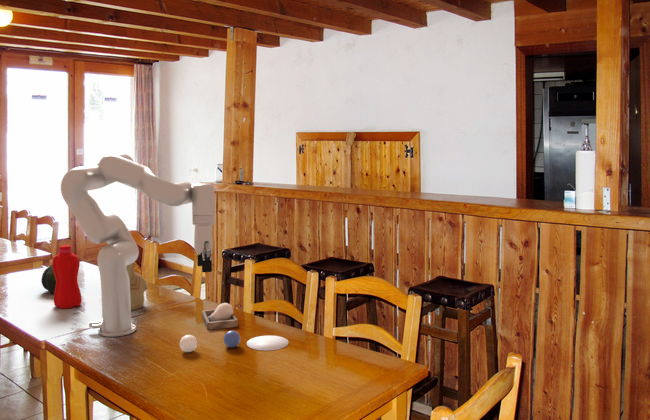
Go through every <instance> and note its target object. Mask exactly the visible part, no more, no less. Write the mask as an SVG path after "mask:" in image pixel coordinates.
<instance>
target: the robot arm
mask: <svg viewBox="0 0 650 420" xmlns="http://www.w3.org/2000/svg"><path fill="white" fill-rule="evenodd" d="M115 182H117V183H119V184H123V185H125V186H127V187H130V188H133V189H135V190H138V191H139V192H140V193H142V195H143V194H144V195H145V196H146V197H148V198H150V199H152V200H154V201H157V202H160V203H161V204H164V205H167V206H170V207H179V206H182V205H183V206H184V205H186V204H191V210H192V211H191V213H192V215H191V216H192V218H191V220H192V225H193V226H194V235H193V236H194V237H193V239H194V243H193V245H194V248H193V250H194V251H195V252H196V255H197V257H196V258H197V259H196V261H197V262H196V263H197V264H196V265H197V267H201V272H202V273H211V272H213V261H212V253H213V247H214V246H213V241H214V240H213V225H215V224H216V211H215V210H216V209H215V208H216V206H215V205H216V204H215V203H216V201H215V199H216V198H215V185H214V184H212V183H208V182H201V183H195V182H194V183H193V182H189V181H188V182H187V181H181V182H175V183H174V182H171V181H168V180H166V179H163V178H160V177H158V176H156V175H155V174H154V173H153V172H152V170H151V168H150V167H149V166H147V165H145V164H141V163H139V162H137V161H134V159H133V158H132V156H129V155H128V154H126V153H121V152H120V153H108V154H106V155H104V156H102V158H101V159H100V160H99V162H98V163H95V164H93V165H83V166H82V165H81V166H77V167H74V168H71V169H69V170H68V171H67V172H66V173H64V175H63V178H62V180H61V182H60V193H61V195H62V196H61V197H62V199H63V200H64V202H65V203H66V205H67V206H68V208H69V210H70V211H71V212H72V214H73V216H74V218H75V220H76V221H77V223H78V224H79V226H80V228H81V230H82V231H83V233H84V234H85V236H86V237H87V239H88V241H89V242H91V243H92V244H97V245H98V244H102V243H106V244H107V245H105V246H103V247H102V248H101V249H100V250H99V252H98V255H97V261H96V263H97V266H98V271H99V278H100V291H101V293H100V294H101V310H102V311H101V312H102V313H101V314H102V317H101V319H100V320H98V321H89V322H88V325H89V326H88V327H89V328H92V329H94V330H95V329H98V331H97V332H98V334H99V335H100V336H103V337H106V338H107V337H108V338H109V337H113V338H116V337H122V336H127V335H130V334H133V333H134V332H135V331H136V330H137V325H135V324H134V323H132V310H131V302H130V281H129V275H128V272H127V268H126V266H128V265H130V264H132V263H133V262H134V263H135V262H136V261H137V260H138V257H139V253H140V251H139V246H138V244H137V242H136V241H135V239H134V237H133V236H132V234H131V232H130V231H129V229H128V227H127V225H126V224H125V222H124V221H123V220H122V219H121V218H120V217H119V216H118V215H116V214H114V213H104V212H103V211H102V210H101V208H100V206H99V204H98V203H97V201H96V200H95V199H94V198H93V197H92V196H91V195H90V194H89V193H88V191H93V190H98V189H101V188H104V187H106V186H108V185H110V184H113V183H115Z"/></svg>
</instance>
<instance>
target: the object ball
mask: <svg viewBox="0 0 650 420" xmlns="http://www.w3.org/2000/svg"><path fill="white" fill-rule="evenodd" d="M240 343H241V336H240V334H239V332H238V331H235V330H229V331H226V333H225V334H224V336H223V344H224V345H225V346H226V347H228V348H236V347H237V346H238V345H239V344H240Z"/></svg>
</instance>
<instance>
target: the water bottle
mask: <svg viewBox="0 0 650 420" xmlns="http://www.w3.org/2000/svg"><path fill="white" fill-rule="evenodd" d="M58 249H59V250H58V251H59V253H57V254H56V255H55V256H54V257H53V258H52V263H51V265H52V268H53V271H54V274H55V277H56V287H55V292H54V294H53V304H54V306H55V307H56V308H60V309H63V310H64V309H66V310H67V309H70V308H75V307H79V306H80V305H81V304H82V293H81V289H80V285H79V283H78V275H79V270H80V265H81V264H80V259H79V256H78V255H76V254H75V253H73V252H72V246H71V245H69V244H65V245H60V246H59V247H58Z"/></svg>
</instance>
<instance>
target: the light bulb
mask: <svg viewBox="0 0 650 420" xmlns="http://www.w3.org/2000/svg"><path fill="white" fill-rule="evenodd" d="M215 309H216V310H215V311H214V313H212V314H211V315H210V316H209V317H207V318H208V319H209V322H214V321H225V320H231V319H230V318H231V317H232V315H233V313H234V307H233V306H232V305H231V304H230V303H228V302H222V303H220V304H219V305H218V306H217V307H216V308H215Z"/></svg>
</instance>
